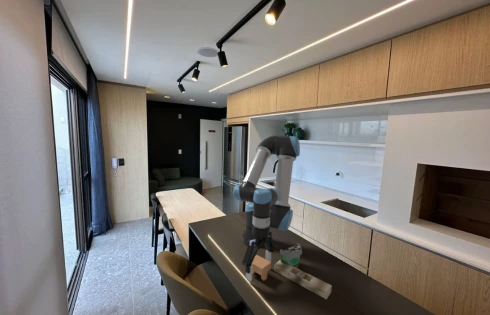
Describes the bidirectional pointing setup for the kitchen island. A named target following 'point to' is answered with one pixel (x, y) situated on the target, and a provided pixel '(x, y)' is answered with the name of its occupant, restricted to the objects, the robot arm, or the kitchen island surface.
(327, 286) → the rail
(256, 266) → the tan toy stool
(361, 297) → the kitchen island surface
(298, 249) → the grey green half-round piece
